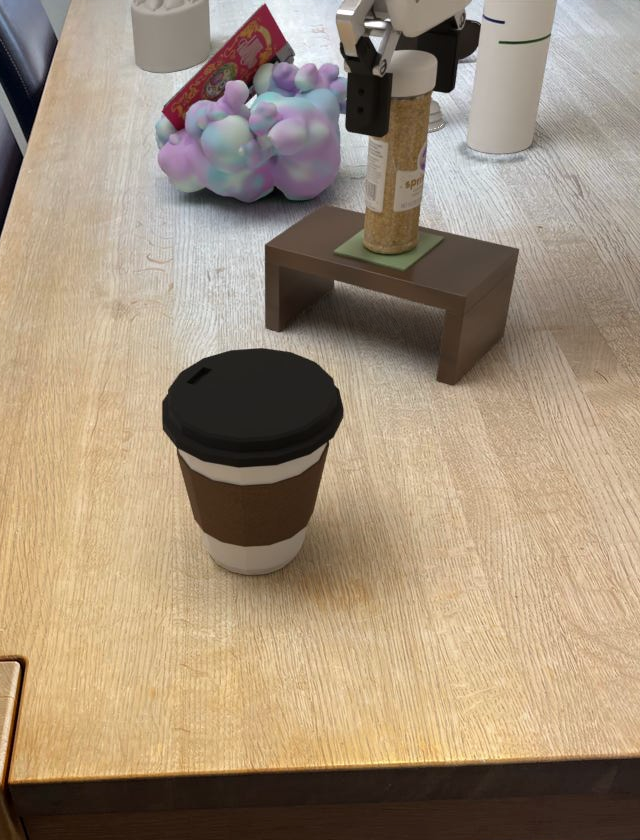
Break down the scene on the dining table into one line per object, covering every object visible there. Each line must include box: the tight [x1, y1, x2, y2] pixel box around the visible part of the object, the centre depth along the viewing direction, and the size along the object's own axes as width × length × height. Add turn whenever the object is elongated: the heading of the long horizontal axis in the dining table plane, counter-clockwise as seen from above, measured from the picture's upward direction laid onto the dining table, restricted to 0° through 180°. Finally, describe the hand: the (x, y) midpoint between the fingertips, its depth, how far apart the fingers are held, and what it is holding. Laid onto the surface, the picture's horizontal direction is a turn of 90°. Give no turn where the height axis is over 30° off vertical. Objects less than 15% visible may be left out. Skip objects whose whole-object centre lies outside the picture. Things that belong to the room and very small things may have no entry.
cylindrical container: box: [465, 0, 558, 155], centre depth 104 cm, size 7×7×25 cm
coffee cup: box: [161, 347, 345, 576], centre depth 63 cm, size 11×11×12 cm
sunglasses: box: [394, 18, 481, 61], centre depth 136 cm, size 14×16×5 cm
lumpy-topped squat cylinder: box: [130, 0, 212, 74], centre depth 140 cm, size 10×13×9 cm
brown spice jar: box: [362, 50, 437, 254], centre depth 76 cm, size 5×5×14 cm
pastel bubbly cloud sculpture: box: [154, 2, 347, 204], centre depth 104 cm, size 20×22×18 cm
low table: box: [264, 203, 520, 386], centre depth 83 cm, size 18×9×8 cm, turn 51°
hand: (401, 110), depth 73 cm, fingers open, 9 cm apart
